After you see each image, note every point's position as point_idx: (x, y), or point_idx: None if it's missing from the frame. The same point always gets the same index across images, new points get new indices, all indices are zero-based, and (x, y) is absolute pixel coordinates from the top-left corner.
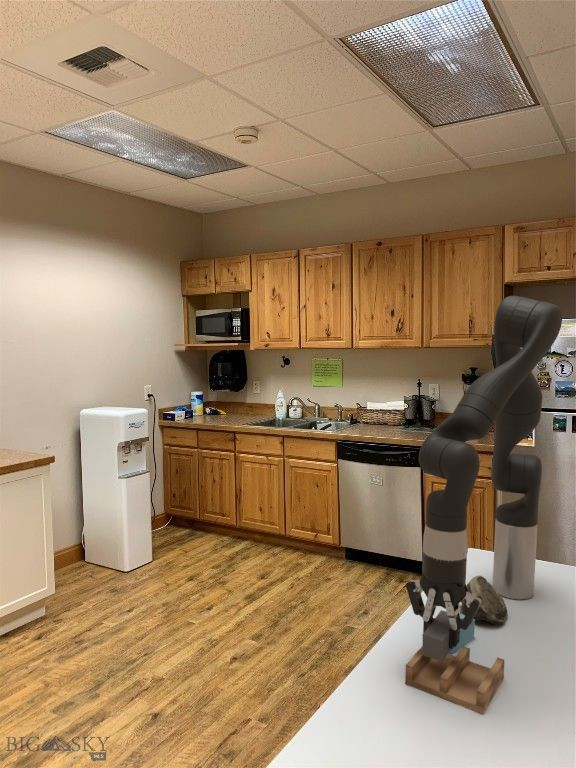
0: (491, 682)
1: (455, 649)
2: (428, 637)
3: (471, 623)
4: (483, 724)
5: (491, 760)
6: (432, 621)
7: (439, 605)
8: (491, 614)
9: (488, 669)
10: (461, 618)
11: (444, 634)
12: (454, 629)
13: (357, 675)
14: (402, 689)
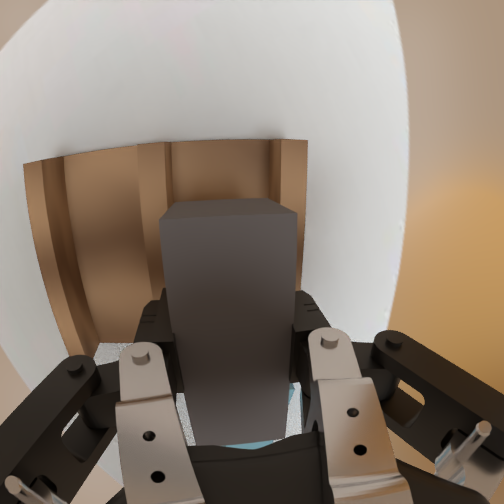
0: (35, 242)
1: None
2: (256, 214)
3: (224, 446)
4: (43, 121)
5: (14, 36)
6: (290, 357)
7: (266, 451)
8: None
9: (115, 335)
10: (251, 448)
11: (180, 290)
12: (138, 345)
13: (402, 110)
14: (281, 110)
